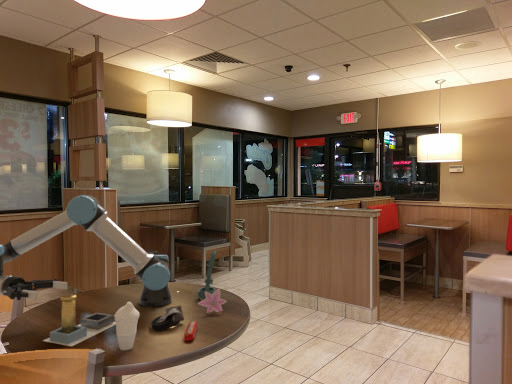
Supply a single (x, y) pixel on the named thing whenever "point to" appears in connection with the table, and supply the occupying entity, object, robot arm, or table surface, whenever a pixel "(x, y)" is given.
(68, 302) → the brass peg
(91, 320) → the frame
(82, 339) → the mounting plate
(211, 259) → the dark curved piece
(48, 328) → the table surface
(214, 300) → the lily
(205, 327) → the table surface
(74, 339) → the collar
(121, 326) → the soft serve ice cream cone
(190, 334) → the candy bar
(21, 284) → the robot arm
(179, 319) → the caster wheel
